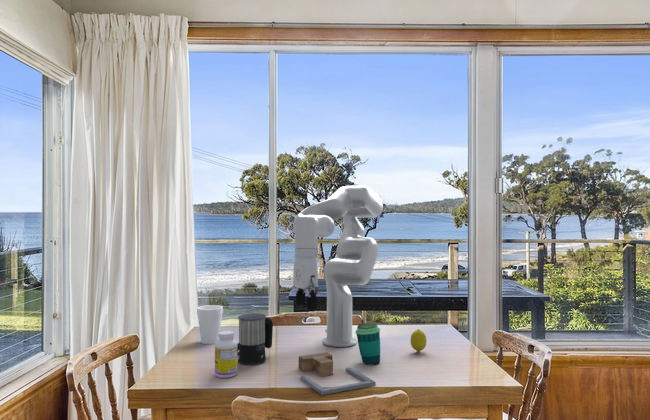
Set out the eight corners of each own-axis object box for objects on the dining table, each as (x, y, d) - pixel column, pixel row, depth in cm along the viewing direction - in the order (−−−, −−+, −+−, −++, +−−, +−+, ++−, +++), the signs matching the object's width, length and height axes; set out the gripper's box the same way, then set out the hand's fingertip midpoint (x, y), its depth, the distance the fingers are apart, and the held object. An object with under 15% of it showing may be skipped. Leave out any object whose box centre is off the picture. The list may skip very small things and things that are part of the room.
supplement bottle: (216, 371, 154) (216, 329, 154) (238, 371, 154) (238, 329, 154) (213, 379, 147) (213, 335, 147) (236, 378, 147) (236, 334, 148)
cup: (373, 367, 158) (373, 329, 158) (350, 363, 162) (351, 326, 162) (384, 361, 165) (384, 324, 165) (362, 357, 169) (362, 321, 169)
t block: (298, 368, 157) (298, 356, 157) (326, 364, 161) (326, 352, 161) (312, 377, 148) (312, 364, 148) (341, 373, 152) (341, 359, 153)
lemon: (426, 354, 172) (426, 331, 172) (410, 353, 173) (410, 330, 173) (426, 350, 178) (426, 327, 178) (410, 349, 179) (410, 327, 179)
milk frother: (258, 366, 159) (258, 319, 159) (214, 362, 164) (214, 316, 164) (276, 354, 173) (276, 311, 173) (234, 350, 177) (235, 308, 177)
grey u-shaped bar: (300, 379, 147) (300, 375, 147) (350, 370, 155) (350, 367, 155) (321, 395, 134) (321, 391, 134) (375, 385, 142) (375, 381, 142)
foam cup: (224, 343, 186) (224, 308, 186) (198, 346, 182) (198, 310, 182) (220, 337, 195) (220, 304, 195) (196, 339, 191) (196, 305, 191)
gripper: (285, 251, 170) (285, 303, 170) (306, 256, 155) (306, 312, 155) (305, 251, 174) (305, 301, 174) (328, 255, 158) (328, 310, 158)
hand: (305, 306), depth 164 cm, fingers open, 7 cm apart
